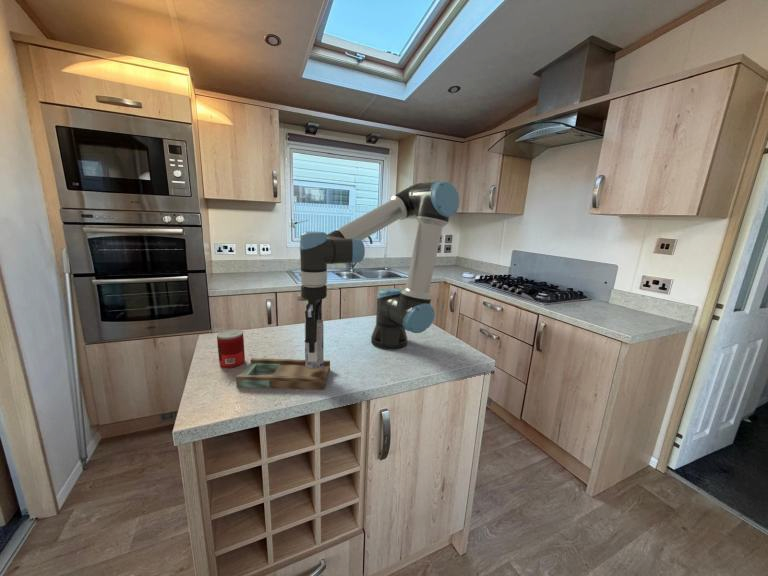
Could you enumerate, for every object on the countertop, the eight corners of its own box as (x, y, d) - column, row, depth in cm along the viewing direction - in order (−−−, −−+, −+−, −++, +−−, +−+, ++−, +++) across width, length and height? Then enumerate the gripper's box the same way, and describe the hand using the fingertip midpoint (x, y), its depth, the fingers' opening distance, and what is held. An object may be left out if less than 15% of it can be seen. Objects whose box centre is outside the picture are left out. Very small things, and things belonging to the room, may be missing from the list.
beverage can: (327, 366, 98) (327, 321, 94) (312, 372, 94) (311, 325, 90) (316, 360, 101) (316, 317, 98) (301, 366, 97) (300, 321, 94)
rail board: (330, 370, 104) (330, 360, 104) (324, 389, 93) (324, 379, 92) (252, 367, 104) (251, 358, 103) (236, 387, 92) (235, 376, 91)
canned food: (249, 361, 108) (247, 332, 105) (228, 370, 101) (225, 339, 98) (236, 355, 111) (234, 327, 109) (214, 364, 105) (211, 334, 102)
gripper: (308, 277, 100) (308, 344, 106) (292, 291, 82) (294, 370, 87) (331, 278, 100) (330, 344, 106) (321, 292, 82) (321, 371, 88)
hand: (314, 356), depth 97 cm, fingers closed on beverage can, 5 cm apart
